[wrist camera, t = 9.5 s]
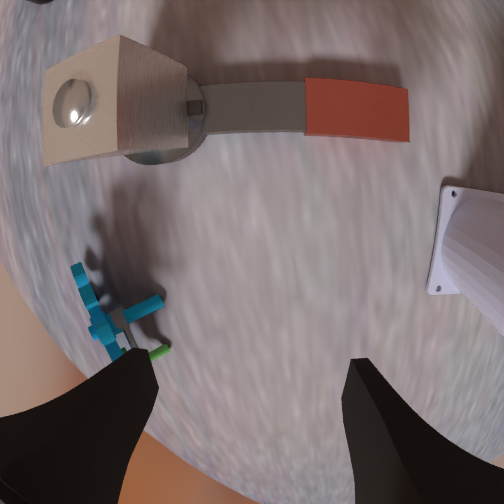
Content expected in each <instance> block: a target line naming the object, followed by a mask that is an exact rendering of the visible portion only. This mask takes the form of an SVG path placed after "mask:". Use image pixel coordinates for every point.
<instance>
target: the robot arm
mask: <svg viewBox="0 0 504 504" xmlns="http://www.w3.org/2000/svg"><path fill="white" fill-rule="evenodd" d="M453 190H454V196H452V191H453ZM438 286H439V288H438V289H437V290H436V288H437V287H438ZM426 291H427V292H428V293H429V294H430V295H439V294H456V293H462V294H463V295H464V296H465V297H466V298H468V299H469V300H470V301H471V302H472V303H473V304H474V305H475V306H476V307H477V308H478V309H479V311H480V312H481V313H482V314H483V315H484V316H485V317H486V318H487V319H488V320H489V321H490V322H491V323H492V324H493V325H494V326H495V327H496V328H497V329H498V331H499V332H500V333H501V334H502V335H503V336H504V194H501V193H495V192H489V191H484V190H477V189H471V188H464V187H457V186H450V185H445V186H443V187H442V189H441V196H440V206H439V216H438V224H437V231H436V238H435V245H434V251H433V256H432V262H431V267H430V272H429V277H428V282H427V286H426ZM158 390H159V386H158V383H157V380H156V377H155V374H154V370H153V367H152V363H151V360H150V356H149V353H148V350H147V349H140V348H134V347H133V348H132V349H130V350H129V351H127V352H126V353H124V354H123V355H121V356H120V357H119V358H117V359H116V360H115V361H113V362H112V363H110V364H109V365H108V366H106V367H105V368H103V369H102V370H101V371H99V372H98V373H96V374H95V375H93V376H92V377H91V378H89V379H87V380H86V381H84V382H83V383H81V384H80V385H78V386H76V387H75V388H73V389H72V390H70V391H68V392H67V393H65V394H63V395H61V396H59V397H57V398H55V399H53V400H51V401H49V402H47V403H45V404H42V405H40V406H37V407H34V408H32V409H29V410H27V411H24V412H20V413H17V414H14V415H9V416H5V417H1V418H0V504H118V499H119V495H120V491H121V487H122V483H123V480H124V476H125V473H126V470H127V466H128V463H129V460H130V458H131V455H132V452H133V451H134V448H135V446H136V444H137V442H138V440H139V438H140V436H141V433H142V431H143V429H144V427H145V425H146V423H147V421H148V418H149V416H150V414H151V412H152V409H153V406H154V403H155V400H156V397H157V393H158ZM341 400H342V413H343V423H344V428H345V433H346V438H347V443H348V447H349V452H350V457H351V463H352V468H353V474H354V482H355V504H504V469H503V468H500V467H497V466H495V465H492V464H490V463H487V462H485V461H483V460H481V459H479V458H477V457H475V456H473V455H472V454H470V453H468V452H466V451H465V450H463V449H461V448H460V447H458V446H457V445H455V444H454V443H452V442H451V441H449V440H448V439H446V438H445V437H444V436H442V435H441V434H440V433H439V432H437V431H436V430H435V429H434V428H432V427H431V426H430V425H429V424H428V423H426V422H425V421H424V420H423V419H422V418H421V417H420V416H419V415H418V414H417V413H416V412H415V411H414V410H413V409H412V408H411V407H410V406H409V405H408V404H407V403H406V402H405V401H404V400H403V399H402V398H401V397H400V395H399V394H398V393H397V392H396V391H395V390H394V389H393V388H392V386H391V385H390V384H389V383H388V382H387V380H386V379H385V378H384V377H383V376H382V374H381V373H380V372H379V371H378V370H377V368H376V367H375V366H374V365H373V364H372V362H371V361H370V360H369V359H368V358H359V359H351V361H350V366H349V370H348V374H347V378H346V382H345V386H344V390H343V394H342V397H341Z"/></svg>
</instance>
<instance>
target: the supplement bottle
mask: <svg viewBox="0 0 504 504" xmlns="http://www.w3.org/2000/svg"><path fill="white" fill-rule="evenodd" d="M27 1H30V2H33V3H35V4H46V3H49V2H51V1H53V0H27Z"/></svg>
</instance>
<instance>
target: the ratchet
mask: <svg viewBox="0 0 504 504" xmlns="http://www.w3.org/2000/svg"><path fill="white" fill-rule="evenodd" d="M187 118H188V147H187V148H177V149H167V150H158V151H150V152H143V153H135V154H128V155H124V156H125V157H127V158H128V159H130V160H132V161H134V162H136V163H139V164H144V165H156V164H163V163H170V162H175V161H179V160H181V159H184V158H186V157H187V156H189V155H190V154H192V153H193V152H194V151H195V150H196V149H197V148H198V147H199V146H200V145H201V144H202V143H203V141H204V140H205V138H206V136H207V135H210V134H226V133H249V132H304V136H329V137H346V138H359V139H370V140H380V141H389V142H409V105H408V89H404V88H399V87H393V86H387V85H380V84H373V83H366V82H358V81H348V80H337V79H323V78H305V80H304V82H293V81H270V82H242V83H227V84H215V85H205V86H201V85H200V84H199V83H198V82H197V81H195V80H194V79H193V78H191V77H190V76H189V75H188V74H187Z"/></svg>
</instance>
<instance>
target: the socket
mask: <svg viewBox="0 0 504 504" xmlns="http://www.w3.org/2000/svg"><path fill="white" fill-rule="evenodd" d="M42 130H43V159H44V167H45V166H50V165H56V164H62V163H68V162H74V161H81V160H88V159H96V158H104V157H113V156H122V155H128V154H135V153H143V152H150V151H158V150H167V149H177V148H187V147H188V118H187V67H186V66H184V65H182V64H180V63H179V62H177V61H175V60H173V59H171V58H169V57H167V56H165V55H163V54H161V53H159V52H157V51H155V50H153V49H151V48H149V47H147V46H145V45H143V44H140V43H138V42H136V41H134V40H132V39H129V38H127V37H125V36H123V35H118V36H115V37H113V38H110V39H108V40H106V41H103V42H101V43H99V44H96V45H94V46H92V47H90V48H88V49H86V50H83V51H81V52H79V53H77V54H75V55H73V56H71V57H70V58H68V59H66V60H64V61H62V62H60V63H58V64H57V65H55V66H53V67H51V68H50V69H48V70H46V71H45V78H44V92H43V120H42Z"/></svg>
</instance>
